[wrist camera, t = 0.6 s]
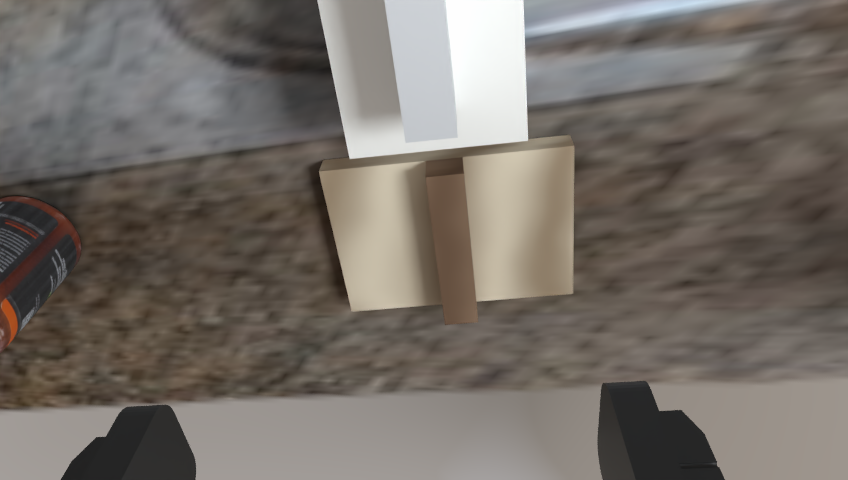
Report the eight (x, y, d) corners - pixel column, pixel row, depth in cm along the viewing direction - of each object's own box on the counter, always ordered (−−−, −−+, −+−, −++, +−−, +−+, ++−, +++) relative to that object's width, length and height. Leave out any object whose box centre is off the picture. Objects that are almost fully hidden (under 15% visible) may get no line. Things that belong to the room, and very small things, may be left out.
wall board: (569, 134, 34) (581, 162, 31) (568, 279, 40) (579, 314, 37) (323, 160, 36) (312, 188, 33) (354, 297, 41) (347, 332, 38)
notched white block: (502, -128, 28) (531, -114, 19) (512, 88, 33) (538, 176, 24) (328, -103, 29) (277, -80, 20) (365, 104, 34) (338, 196, 25)
